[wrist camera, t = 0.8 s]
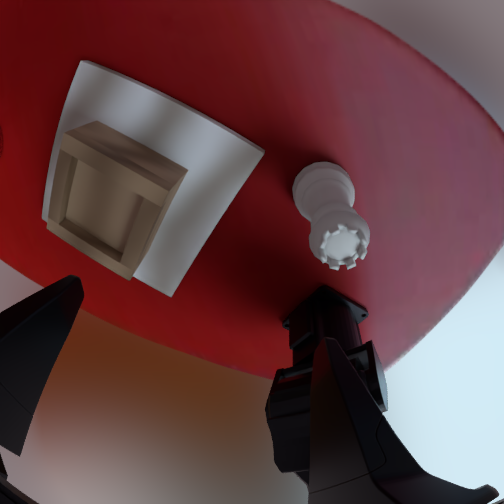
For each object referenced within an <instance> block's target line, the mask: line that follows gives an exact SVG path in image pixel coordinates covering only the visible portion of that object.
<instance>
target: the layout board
mask: <svg viewBox="0 0 504 504" xmlns="http://www.w3.org/2000/svg"><path fill="white" fill-rule="evenodd" d="M264 153H265V150H264V149H262V148H261V147H259V146H257V145H256V144H254V143H253V142H251V141H249V140H248V139H246V138H244V137H243V136H241V135H239V134H238V133H236V132H234V131H233V130H231V129H229V128H228V127H226V126H224V125H222V124H221V123H219V122H217V121H215V120H214V119H212V118H210V117H208V116H206V115H205V114H203V113H201V112H199V111H197V110H195V109H193V108H192V107H190V106H188V105H186V104H184V103H182V102H180V101H178V100H176V99H174V98H172V97H170V96H168V95H166V94H164V93H162V92H160V91H158V90H156V89H154V88H152V87H150V86H147V85H145V84H143V83H141V82H139V81H137V80H134V79H132V78H130V77H128V76H125V75H123V74H121V73H118V72H116V71H113V70H111V69H109V68H106V67H104V66H101V65H99V64H96V63H94V62H91V61H88V60H87V61H80V64H79V66H78V69H77V71H76V74H75V76H74V79H73V81H72V84H71V87H70V90H69V93H68V96H67V99H66V102H65V105H64V108H63V111H62V115H61V118H60V121H59V125H58V129H57V133H56V137H55V141H54V145H53V149H52V154H51V159H50V164H49V169H48V175H47V181H46V187H45V194H44V202H43V211H42V219H43V220H45V221H46V222H47V229H48V230H50V231H51V232H52V233H54V234H55V235H57V236H58V237H60V238H61V239H63V240H64V241H66V242H67V243H69V244H70V245H72V246H73V247H75V248H76V249H78V250H79V251H81V252H83V253H84V254H86V255H87V256H89V257H91V258H92V259H94V260H95V261H97V262H99V263H100V264H102V265H103V266H105V267H107V268H108V269H110V270H112V271H113V272H115V273H117V274H118V275H120V276H122V277H124V278H125V279H127V280H129V281H130V279H131V278H132V276H134V277H135V278H137V279H139V280H141V281H142V282H144V283H146V284H148V285H149V286H151V287H153V288H155V289H157V290H159V291H160V292H162V293H164V294H166V295H168V296H170V297H172V295H173V293H174V292H175V290H176V288H177V287H178V285H179V283H180V282H181V280H182V279H183V277H184V275H185V274H186V272H187V270H188V269H189V267H190V266H191V264H192V262H193V261H194V259H195V257H196V256H197V254H198V253H199V251H200V250H201V248H202V246H203V245H204V243H205V242H206V240H207V239H208V237H209V235H210V234H211V232H212V231H213V229H214V228H215V226H216V225H217V223H218V221H219V220H220V218H221V217H222V215H223V214H224V212H225V211H226V209H227V208H228V206H229V205H230V203H231V202H232V200H233V199H234V197H235V196H236V194H237V193H238V191H239V190H240V188H241V187H242V185H243V184H244V182H245V181H246V179H247V178H248V177H249V175H250V174H251V172H252V171H253V169H254V168H255V166H256V165H257V163H258V162H259V161H260V159H261V158H262V156H263V155H264Z"/></svg>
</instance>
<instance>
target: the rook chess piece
mask: <svg viewBox="0 0 504 504" xmlns="http://www.w3.org/2000/svg"><path fill="white" fill-rule="evenodd" d="M292 191H293V199H294V201H295V205H296V207H297V208H298V210H299V212H300V214H301V215H302V216H304V217H305V218H306V219H308V220H309V221H310V222H311V233H310V235H309V244H310V249H311V250H312V252H313V254H314V256H315V257H317V258H318V259H319V260H321V261H322V263H328V264H329V268H330V269H334V270H339V265H343V264H346V266H347V269H350V268H352V267H355V266H356V263H355V260H356V259H357V258H358V257H359V258H361V259H364V257H365V255H366V253H367V250H366V247H367V245H368V244H369V239H370V230H369V228H368V225H367V223H366V221H365V220H364V219H363V218H362V217H360V216H359V215H358V214H357V213H356V211H355V210H354V209H353V208H352V206H353V203H354V186H353V184H352V182H351V179H350V177H349V175H348V173H347V172H346V171H345V170H343V169H342V168H341V167H340V166H339V165H336V164H333V163H330V162H316V163H313V164H311V165H309V166H307V167H305V168H303V169H302V171H301V172H300V173H299V174H298V175H297V176H296V178H295V181H294V184H293V187H292Z"/></svg>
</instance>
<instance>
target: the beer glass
mask: <svg viewBox="0 0 504 504" xmlns="http://www.w3.org/2000/svg"><path fill="white" fill-rule="evenodd" d="M2 148H3V138H2V132H1V128H0V157H1V154H2Z"/></svg>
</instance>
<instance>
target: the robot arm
mask: <svg viewBox="0 0 504 504" xmlns="http://www.w3.org/2000/svg"><path fill="white" fill-rule="evenodd" d="M322 291H325V292H322ZM83 298H84V291H83V287H82V283H81V279H80V278H79V277H77V276H74V275H68V276H67V277H65V278H63V279H61V280H59V281H57V282H55V283H53V284H51V285H49V286H47V287H45V288H44V289H42V290H40V291H38V292H36V293H34V294H32V295H31V296H29V297H27V298H25V299H23V300H22V301H20V302H18V303H16V304H15V305H13V306H11V307H9V308H8V309H6V310H4V311H2V312H1V313H0V445H1V446H3V447H4V448H6V449H8V450H9V451H11V452H12V453H14V454H16V455H18V456H20V455H21V452H22V449H23V445H24V442H25V439H26V436H27V433H28V430H29V426H30V424H31V421H32V418H33V415H34V412H35V409H36V406H37V404H38V401H39V399H40V396H41V394H42V391H43V389H44V386H45V384H46V382H47V379H48V377H49V375H50V372H51V370H52V368H53V366H54V363H55V361H56V359H57V357H58V355H59V353H60V351H61V349H62V347H63V345H64V342H65V340H66V338H67V336H68V334H69V332H70V330H71V328H72V325H73V323H74V320H75V318H76V315H77V313H78V310H79V308H80V306H81V303H82V301H83ZM368 315H369V314H368V311H367V310H366V309H365V308H363V307H361V306H360V305H358V304H356V303H355V302H353V301H351V300H350V299H348V298H346V297H345V296H343V295H341V294H339V293H338V292H336V291H334V290H333V289H331V288H329V287H328V286H321V287H319V288H318V289H317V290H316V291H315V292H314V293H313V294H312V295H311V296H310V297H309V298H308V299H307V300H305V301H304V302H303V303H301V304H300V305H299V306H298V307H297V308H296V309H295V310H294V311H293V312H292V313H290V314H289V316H288V317H287V318H286V319H285V320H284V321H283V322H282V326H283V328H285V329H287V330H289V346H290V349H292V350H293V367H289V368H286V369H283V368H282V369H278V370H277V371H276V374H275V377H274V381H273V384H272V387H271V390H270V393H269V396H268V399H267V403H266V407H265V412H266V417H267V423H268V426H269V429H270V431H271V436H272V440H273V448H274V461H275V464H276V465H277V467H278V469H279V470H280V471H281V472H282V473H287V472H294V473H295V474H296V475H297V476H298V477H299V478H300V479H301V480H302V481H303V482H304V483H305V484H306V485H307V488H308V492H309V497H308V504H487V503H489V502H490V501H492V500H494V499H495V498H497V497H498V496H499V493H498V491H497V490H496V489H495V488H493V487H491V486H489V485H488V484H487V485H484V486H481V487H479V488H477V489H467V488H464V487H461V486H458V485H456V484H453V483H451V482H448V481H445V480H443V479H440V478H438V477H435V476H433V475H431V474H429V473H427V472H426V471H424V470H423V469H422V468H421V467H420V465H419V464H418V463H417V462H416V460H415V459H414V458H413V457H412V455H411V454H410V453H409V451H408V450H407V449H406V447H405V446H404V445H403V443H402V442H401V441H400V439H399V438H398V437H397V435H396V434H395V432H394V431H393V430H392V428H391V426H390V425H389V423H388V421H387V420H386V418H385V417H384V415H382V412H385V411H387V410H388V402H387V401H388V400H387V385H386V380H385V376H384V372H383V368H382V364H381V362H380V359H379V357H378V354H377V352H376V349H375V347H374V344H373V342H372V340H371V341H368V342H366V344H362V340H361V335H360V331H359V326H358V324H359V323H360V322H362V321H363V320H364V319H365V318H367V317H368ZM7 476H8V475H7V472H6V470H5V467H4V464H3V461H2V457H1V454H0V504H39V503H37V502H36V501H34V500H32V499H31V498H30V497H28V496H27V495H25V494H24V493H22V492H21V491H19V490H18V489H17V488H16V487H14V486H13V485H12V484H10V483H9V482H8V481H7ZM492 504H504V499H502V500H499V501H497V502H495V503H492Z"/></svg>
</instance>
